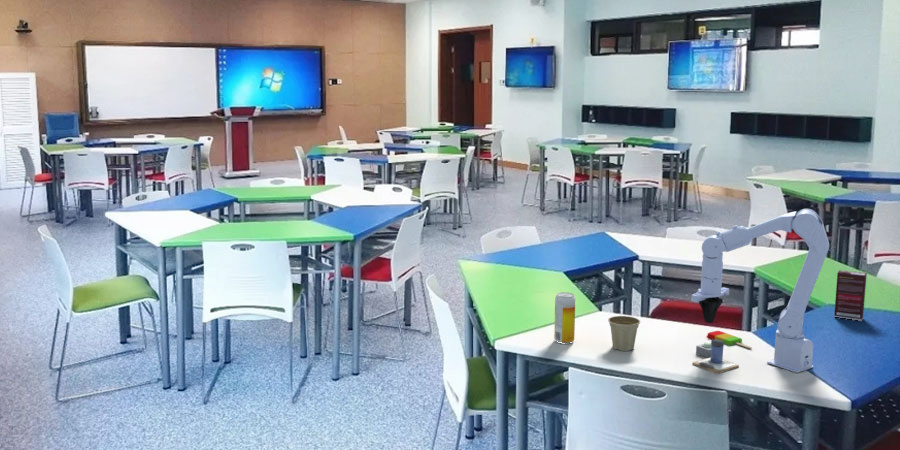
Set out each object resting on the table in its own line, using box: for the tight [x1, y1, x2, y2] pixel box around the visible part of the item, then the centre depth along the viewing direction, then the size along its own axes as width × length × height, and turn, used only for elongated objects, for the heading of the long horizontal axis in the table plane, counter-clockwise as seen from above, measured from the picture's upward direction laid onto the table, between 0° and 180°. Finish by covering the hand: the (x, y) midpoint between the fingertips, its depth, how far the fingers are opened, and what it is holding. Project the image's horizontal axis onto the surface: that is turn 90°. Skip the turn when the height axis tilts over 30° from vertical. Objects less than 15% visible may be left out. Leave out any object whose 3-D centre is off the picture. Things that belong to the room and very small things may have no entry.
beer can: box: [553, 291, 576, 343], centre depth 236 cm, size 6×6×15 cm
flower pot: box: [607, 315, 641, 352], centre depth 231 cm, size 9×9×9 cm
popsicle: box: [707, 330, 753, 350], centre depth 236 cm, size 6×15×2 cm, turn 30°
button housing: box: [695, 343, 711, 358], centre depth 225 cm, size 4×4×2 cm
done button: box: [703, 342, 711, 349], centre depth 225 cm, size 2×2×2 cm
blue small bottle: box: [710, 339, 725, 364], centre depth 217 cm, size 3×3×6 cm
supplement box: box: [833, 269, 868, 322], centre depth 258 cm, size 9×5×16 cm, turn 58°
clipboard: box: [691, 357, 740, 374], centre depth 216 cm, size 9×9×1 cm
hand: (708, 322), depth 225 cm, fingers closed
